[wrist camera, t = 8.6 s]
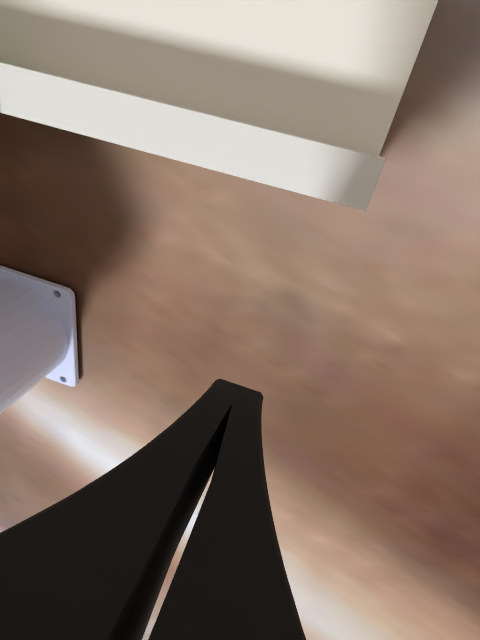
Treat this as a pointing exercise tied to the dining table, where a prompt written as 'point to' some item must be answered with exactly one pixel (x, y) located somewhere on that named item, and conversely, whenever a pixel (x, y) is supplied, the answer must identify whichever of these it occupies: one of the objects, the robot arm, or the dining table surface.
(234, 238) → the dining table surface
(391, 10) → the tray
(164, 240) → the dining table surface
